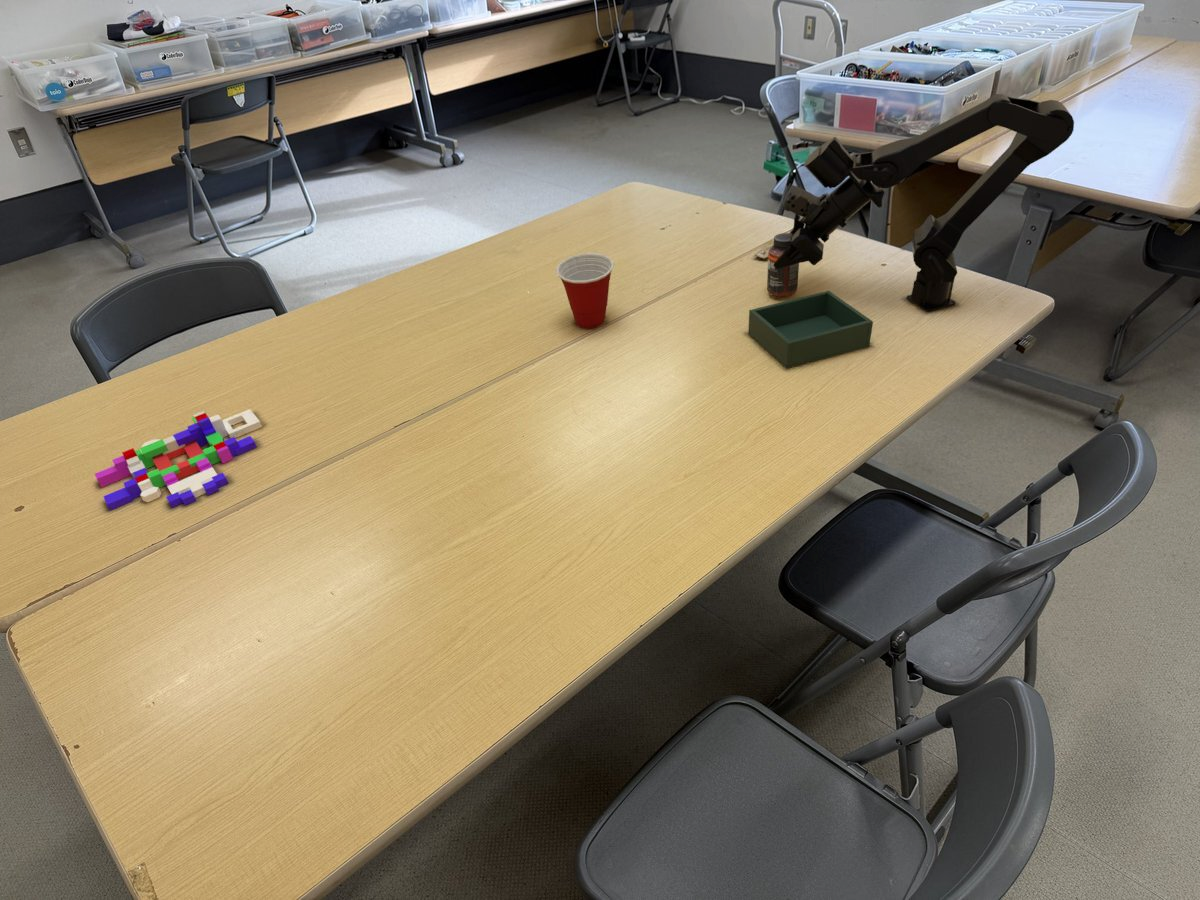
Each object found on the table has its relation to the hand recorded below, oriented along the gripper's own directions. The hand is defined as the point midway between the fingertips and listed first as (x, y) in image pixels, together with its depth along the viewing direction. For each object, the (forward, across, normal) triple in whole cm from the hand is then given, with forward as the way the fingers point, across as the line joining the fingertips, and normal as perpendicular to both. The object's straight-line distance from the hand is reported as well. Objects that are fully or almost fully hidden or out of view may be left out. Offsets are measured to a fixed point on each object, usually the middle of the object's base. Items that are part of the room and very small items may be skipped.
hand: (776, 259), depth 152 cm
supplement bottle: (+4, 0, +6) cm, 7 cm away
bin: (0, +18, +10) cm, 20 cm away
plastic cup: (+29, +16, -19) cm, 38 cm away
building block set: (+65, +70, -56) cm, 111 cm away
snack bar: (+8, -20, +3) cm, 22 cm away
